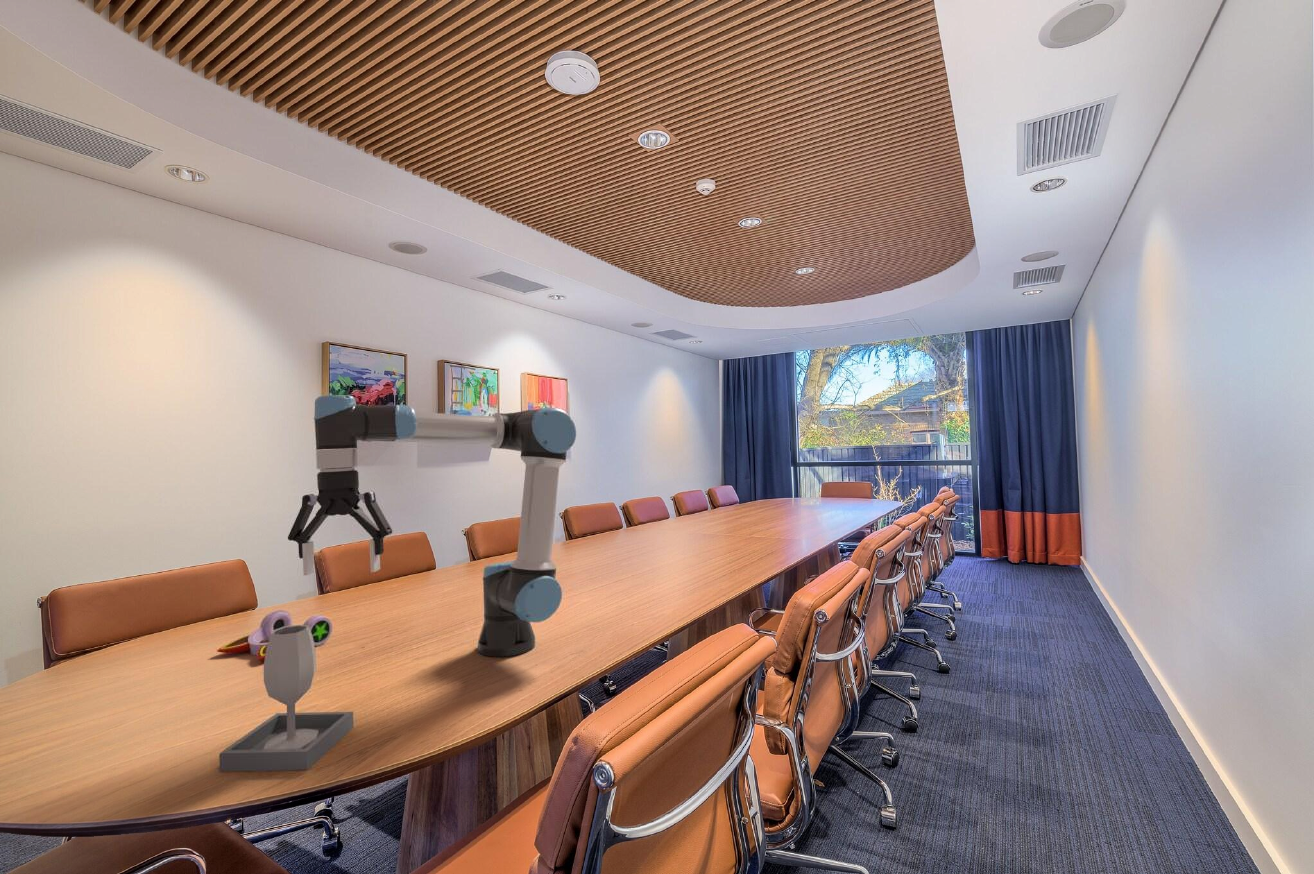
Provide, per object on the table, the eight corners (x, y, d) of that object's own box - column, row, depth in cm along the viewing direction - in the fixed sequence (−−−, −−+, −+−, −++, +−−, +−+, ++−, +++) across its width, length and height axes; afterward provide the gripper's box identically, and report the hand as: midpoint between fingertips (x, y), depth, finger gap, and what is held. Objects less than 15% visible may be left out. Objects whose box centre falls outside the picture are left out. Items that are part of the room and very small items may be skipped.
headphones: (335, 613, 169) (266, 625, 150) (331, 649, 167) (262, 665, 149) (288, 607, 176) (217, 618, 158) (284, 641, 175) (212, 656, 156)
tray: (353, 727, 115) (353, 711, 115) (307, 769, 100) (307, 751, 100) (277, 729, 115) (276, 713, 115) (219, 771, 100) (219, 753, 100)
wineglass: (279, 734, 111) (278, 623, 112) (327, 731, 112) (326, 621, 112) (251, 758, 103) (250, 638, 103) (304, 755, 103) (302, 635, 104)
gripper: (405, 466, 125) (410, 565, 125) (287, 471, 125) (292, 570, 125) (390, 468, 118) (395, 573, 118) (265, 473, 117) (269, 579, 117)
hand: (342, 572), depth 121 cm, fingers open, 13 cm apart
